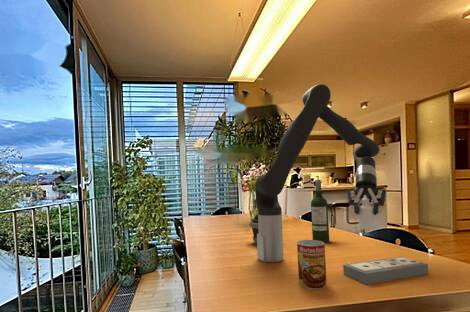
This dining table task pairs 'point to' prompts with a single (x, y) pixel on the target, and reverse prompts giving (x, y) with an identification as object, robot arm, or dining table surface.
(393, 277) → the tile board
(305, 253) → the canned food
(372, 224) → the eye dropper bottle
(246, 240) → the dining table surface
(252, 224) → the flowerpot
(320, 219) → the wine bottle
